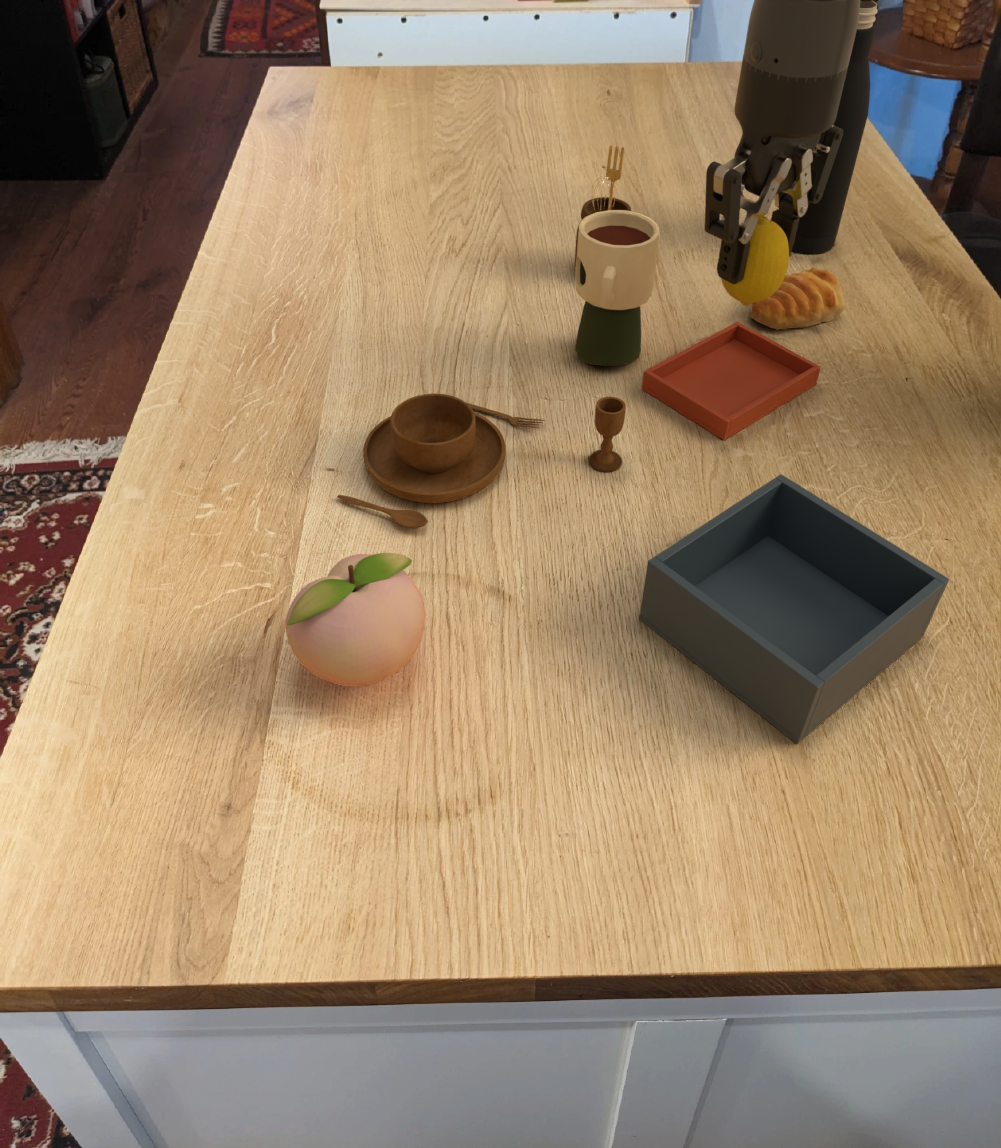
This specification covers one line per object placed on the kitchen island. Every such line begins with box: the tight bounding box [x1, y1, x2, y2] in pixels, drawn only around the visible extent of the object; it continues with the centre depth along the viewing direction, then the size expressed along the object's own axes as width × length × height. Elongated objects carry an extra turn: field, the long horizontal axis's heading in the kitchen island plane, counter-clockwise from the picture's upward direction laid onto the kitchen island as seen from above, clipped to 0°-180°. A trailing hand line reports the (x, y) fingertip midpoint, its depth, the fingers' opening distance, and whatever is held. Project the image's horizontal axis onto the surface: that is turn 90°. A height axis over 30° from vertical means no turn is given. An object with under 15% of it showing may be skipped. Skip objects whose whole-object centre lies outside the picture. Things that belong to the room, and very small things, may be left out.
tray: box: [641, 321, 822, 441], centre depth 94 cm, size 13×10×2 cm
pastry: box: [749, 266, 846, 331], centre depth 102 cm, size 9×7×4 cm
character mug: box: [574, 210, 660, 367], centre depth 93 cm, size 11×7×13 cm, turn 166°
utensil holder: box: [574, 145, 632, 269], centre depth 105 cm, size 6×6×12 cm
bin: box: [638, 473, 950, 745], centre depth 71 cm, size 14×14×6 cm
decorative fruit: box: [285, 552, 426, 687], centre depth 67 cm, size 9×8×10 cm
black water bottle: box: [792, 0, 878, 255], centre depth 103 cm, size 6×6×30 cm
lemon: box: [720, 215, 790, 307], centre depth 85 cm, size 6×6×8 cm
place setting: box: [336, 392, 627, 529], centre depth 83 cm, size 18×20×6 cm
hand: (753, 266), depth 85 cm, fingers closed on lemon, 5 cm apart
